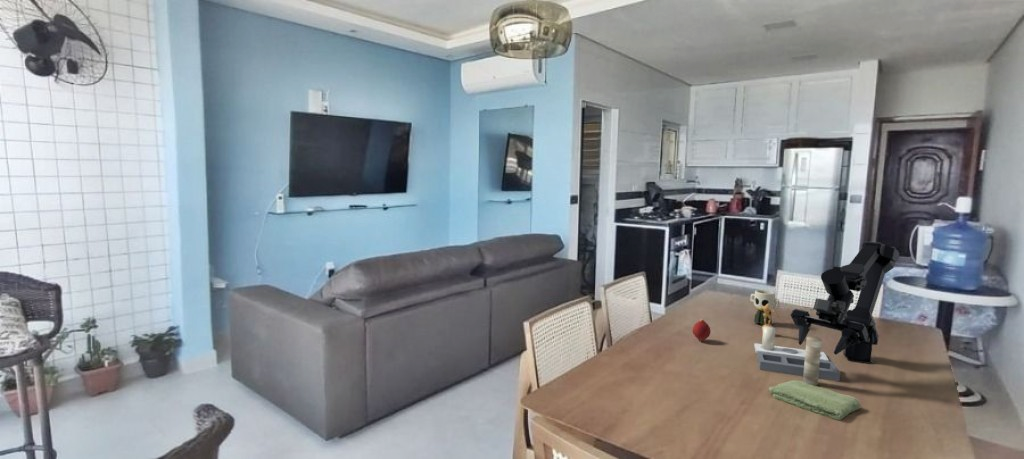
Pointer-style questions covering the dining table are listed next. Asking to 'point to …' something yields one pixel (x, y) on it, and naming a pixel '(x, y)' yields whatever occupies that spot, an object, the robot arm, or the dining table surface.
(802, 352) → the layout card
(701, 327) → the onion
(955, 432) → the dining table surface
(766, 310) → the figurine
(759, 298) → the character mug
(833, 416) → the washcloth
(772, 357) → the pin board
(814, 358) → the birch peg
